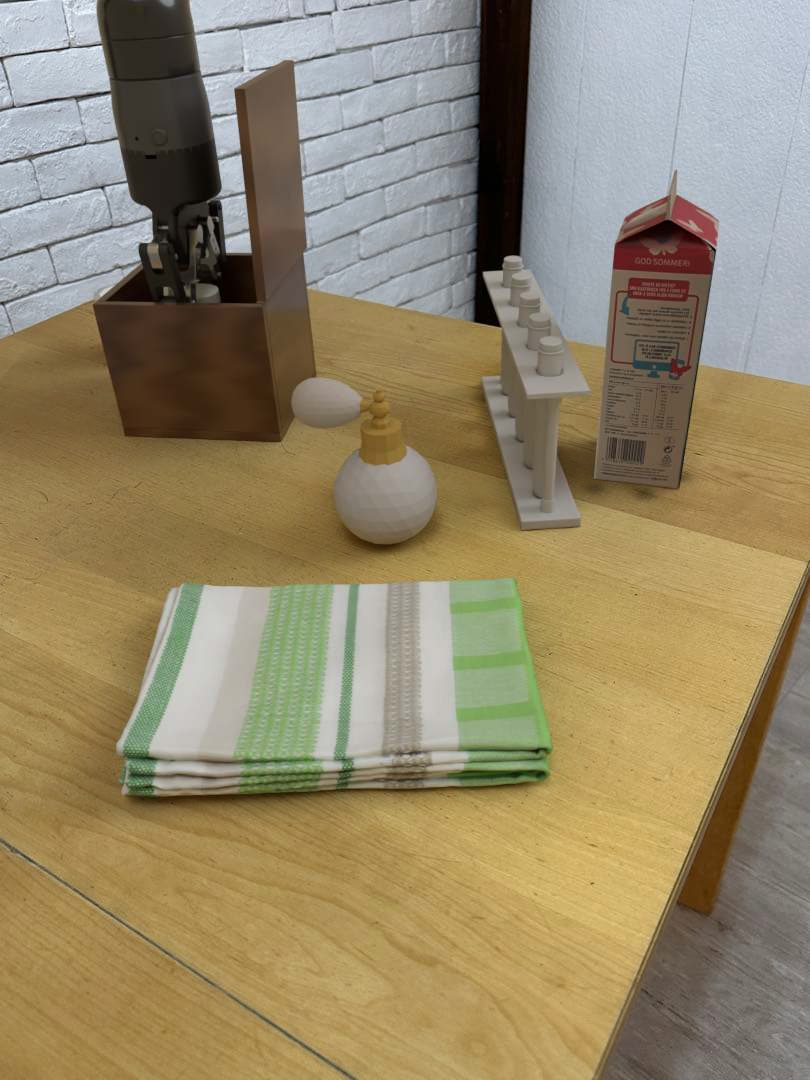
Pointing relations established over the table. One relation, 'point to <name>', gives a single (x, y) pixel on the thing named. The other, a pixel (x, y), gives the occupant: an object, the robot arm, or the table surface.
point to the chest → (208, 356)
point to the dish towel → (337, 690)
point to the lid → (272, 174)
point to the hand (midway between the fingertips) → (202, 335)
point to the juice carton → (654, 340)
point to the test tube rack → (531, 398)
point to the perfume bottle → (371, 464)
